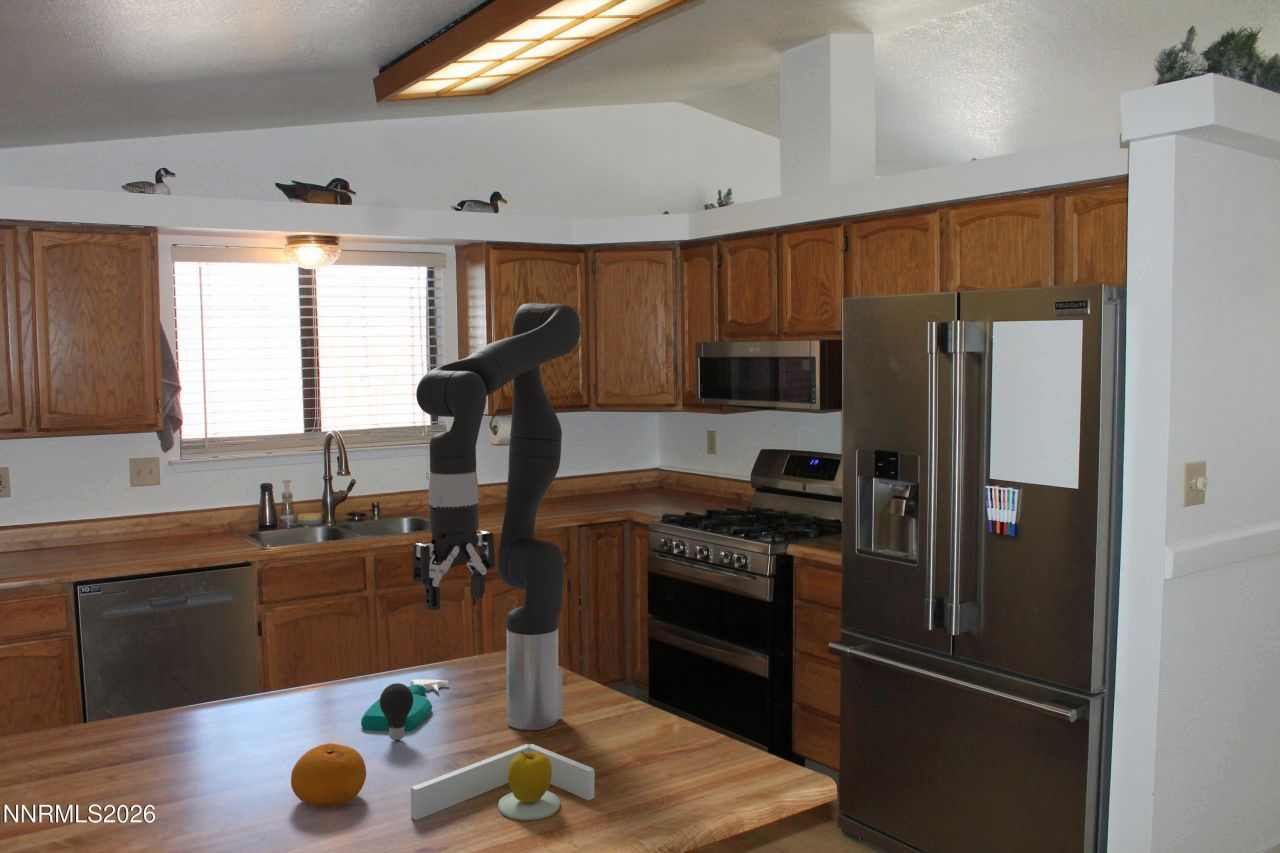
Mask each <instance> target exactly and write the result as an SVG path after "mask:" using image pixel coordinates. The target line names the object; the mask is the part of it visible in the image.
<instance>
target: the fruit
mask: <svg viewBox="0 0 1280 853" xmlns="http://www.w3.org/2000/svg"><path fill="white" fill-rule="evenodd" d="M366 777H367V769H366V764H365V761H364V758H363V756H362V755H361V753H359V752H358V750H356V749H354V748H353V747H350V746H347V745H344V744H343V745H342V744H338V743H324V744H320V745H318V746H316V747H314V748H311V749H309V750H308V751H307V752H305V753H304V754H303V755H302V756H301V757H300V758H299V759H297V762H295V764H294V766H293V768H292V771H291V776H290V786H291V789H292V791H293V793H294V795H295V797H297V799H299V800H300V801H301V802H302V803H303V802H304V803H305V804H307V805H309V806H313V807H317V808H318V807H319V808H326V807H327V808H328V807H329V808H330V807H336V806H341V805H344V804H347V803H349V802H351V801H352V800H354V799H355V798H356V797H357V796H358V795H359V793H360V792H361V790H362V789H363V786H364V785H365V782H366Z"/></svg>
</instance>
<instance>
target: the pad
mask: <svg viewBox="0 0 1280 853" xmlns="http://www.w3.org/2000/svg"><path fill="white" fill-rule="evenodd" d="M497 803H498V807H497V808H498V812H499V813H500V814H501V815H502V816H504V817H505V818H508V819H510V820H516V821H527V822H529V821H537V820H542V819H546V818H549V817H552V816H553V815H555V814H556V813H557V812H558V811H559V809H560V806H561V800H560V798H559V797H558V795H556V794H555V793H553V792H551V791H548V790H547V791H546V792H545V794H544V795H543V796H542V798H541V799H539V800H538V801H537V802H535V803H523V802H521V801H519V800H517V799H516V798H515V797H514V795H513V792H509V793H507V794H505V795H503V796H502V797H501V798H499V800H498V802H497Z"/></svg>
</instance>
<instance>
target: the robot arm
mask: <svg viewBox="0 0 1280 853" xmlns="http://www.w3.org/2000/svg"><path fill="white" fill-rule="evenodd" d="M581 330H582V328H581V320H580V316H579V314H578V312H577V311H576V310H575V308H573V307H572V306H569V305H566V304H562V303H538V302H536V303H533V302H531V303H529V302H528V303H524V304H521V305H520V306H519V307H518V308H517V310H516V312H515V315H514V318H513V322H512V336H511V337H506V338H502V339H499V340H496V341H494V342H493V341H492V342H491V343H488V344H486V345H485V346H482V347H481V348H479V349H478V350H476V351H475V352H473V353H471V354H469V355H468V356H467V357H464V358H462V359H459V360H455V361H452V362H449V363H446V364H443V365H440V366H438V367H435V368H433V369H431V370H429V371H428V372H427V373H426V374H424V376H422V378H421V379H420V381H419V382H418V386H417V388H416V393H415V396H416V397H415V398H416V401H417V405H418V406H419V408H420V409H421V410H422V412H424V413H426V414H428V415H429V416H433V417H445V418H447V417H448V418H449V417H450V418H453V421H452V424H451V427H450V430H448V431H444V432H439V433H436V434H434V435H433V436H432V437H431V438H430V440H429V481H428V512H429V514H428V515H429V516H428V517H429V518H428V523H429V527H428V528H429V530H430V533H431V540H430V543H419V542H416V543H414V545H413V555H412V556H413V557H412V558H413V559H412V581H413V583H415V584H416V583H417V584H420V585H423V586H424V599H425V600H424V601H425V602H424V604H425V606H426V607H427V608H428V609H429V610H431V611H438V610H440V608H441V589H440V588H441V587H440V585H439V584H440V582H441V580H442V578H443V576H445V575H446V574H447V573H448V571H449V569H450V568H451V569H452V568H456V567H458V566H459V565H460V566H465V565H466V566H467V567H468V569H469V570H470V572H471V574H470V595H471V598H473V599H476V600H480V599H483V598H484V594H485V592H486V587H485V586H486V583H485V582H486V576H485V575H486V574H487V572H488V571H489V570H494V569H495V567H496V562H497V573H498V576H499V578H500V580H501V581H502V583H503V584H504V585H506V586H507V587H510V588H514V589H517V590H522V591H525V594H524V596H525V597H524V605H523V606H519V607H516V608H513V609H512V610H510V611H509V612H508V613H507V615H506V723H507V725H508V726H510V727H511V728H514V729H517V730H521V731H523V730H525V731H536V730H537V731H539V730H544V729H548V728H551V727H553V726H555V725H556V724H557V723H558V721H560V720H561V719H563V668H562V666H559V621H560V618H561V617H560V616H561V613H562V610H563V606H564V605H563V604H564V601H563V600H564V586H565V585H564V584H565V559H564V555H563V552H562V550H561V548H560V546H558V545H557V544H556V543H554V542H551V541H547V540H542V539H535V531H536V530H535V529H536V528H535V526H536V519H537V513H538V509H539V507H540V504H541V502H542V500H543V498H544V497H545V495H546V493H547V491H548V490H549V488H550V486H552V483H553V481H554V480H555V478H556V477H557V474H558V472H559V470H560V464H561V456H562V438H563V437H562V436H563V434H562V432H563V431H562V426H561V423H560V419H559V418H558V415H557V414H556V411H555V409H554V407H553V406H552V404H551V401H550V400H549V398H548V395H547V393H546V391H545V388H544V386H543V383H542V377H541V376H542V375H541V365H542V364H545V363H547V362H549V361H552V360H555V359H557V358H560V357H562V356H566V355H568V354H570V353H571V352H572V351H574V350H575V348H576V346H578V344H579V340H580V337H581ZM512 380H513V382H512V383H513V385H512V386H513V388H512V390H513V391H512V409H511V410H512V411H511V412H512V413H511V425H510V431H509V432H510V433H509V436H510V437H509V448H508V472H507V484H506V485H507V486H506V496H505V497H506V498H505V507H504V514H503V519H502V526H501V533H500V537H499V545H498V549H497V550H498V552H497V561H496V557H495V556H496V554H495V542H494V533H493V532H490V531H485V530H478V529H479V527H480V518H479V517H480V515H479V514H480V512H479V505H480V504H479V482H478V476H477V475H478V474H477V442H478V438H479V437H478V436H479V434H480V429H481V424H482V420H483V417H484V413H485V409H486V406H487V404H486V403H487V396H489V395H493V393H495V392H497V391H498V390H500V389H501V388H502V387H504V386H505V385H506V384H508V383H509V382H511V381H512ZM477 531H478V532H477ZM477 546H478V553H477V551H476V548H477ZM439 564H440V565H439Z"/></svg>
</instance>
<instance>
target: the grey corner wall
mask: <svg viewBox="0 0 1280 853" xmlns="http://www.w3.org/2000/svg"><path fill="white" fill-rule="evenodd" d="M521 751H522V752H523V753H526V752H538V753H542V754H544V755H545V756H546V757H547V758H548V759H549V760H550V763H551V767H552V775H551V782H550V785H552V786H554V787H556V788H559V789H560V790H564V791H566V792H569V793H571V794H573V795H575V796H577V797H580V798H582V799H584V800H587V801H591V800H593V799H595V773H596V772H595V768H594V767H592V766H589V765H586V764H583V763H581V762H578V761H575V760H574V759H570V758H568V757H566V756H563V755H561V754H558V753H555V752H554V751H551V750H548V749H545V748H543V747H541V746H539V745H536V744H533V743H530V744H528V743H524V744H523V745H520V746H518V747H517V746H516V747H515V748H512V749H509V750H506V751H504V752H501V753H498V754H495V755H494V756H493V755H492V756H491V757H488V758H485V759H483V760H480V761H478V762H475V763H472V764H469V765H466V766H464V767H461V768H458V769H456V770H453V771H451V772H448V773H446V774H443V775H440V776H438V777H435V778H433V779H430V780H427V781H424V782H422V783H419V784H415V785H414V786H410V818H411V819H413V820H415V821H418V820H421V819H423V818H426V817H428V816H430V815H432V814H435V813H437V812H441V811H443V810H445V809H448V808H450V807H452V806H454V805H457V804H459V803H462V802H465V801H467V800H469V799H472V798H474V797H478V796H479V795H482V794H485V793H487V792H489V791H491V790H493V789H495V790H496V789H497V788H499V787H502V786H505V785H506V784H509V782H508V769H509V765H510V763H511V761H512V760H513V759H514V758H515V757H516V756H517V755H519V754H522V753H521Z"/></svg>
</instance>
